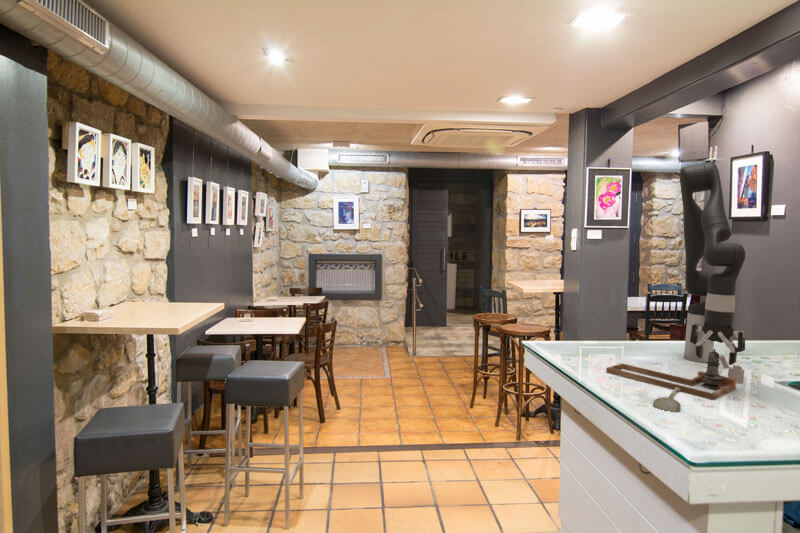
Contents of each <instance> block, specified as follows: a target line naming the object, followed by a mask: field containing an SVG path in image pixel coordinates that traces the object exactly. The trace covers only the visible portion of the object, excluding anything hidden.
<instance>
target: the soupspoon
mask: <svg viewBox="0 0 800 533" xmlns="http://www.w3.org/2000/svg"><path fill="white" fill-rule="evenodd" d="M680 392H681V389H680V388H678V387H675V388H674V390H672V391H671V393H670V395H669V396H668V397H666V396H664V397H663V396H662V397H658V398H655V399H654V400H653V402H652V406H653V407H654V409H656V408H657V409H656V410H659V409H660V410H659V411H662V410H664V411H663V412H667V411H670V412H669V413H678V412H679V411H680V410H681V407H682V406H681V403H680V402H679V401H678V400H676V399H674V398H673V396H674V395H675V393H680Z"/></svg>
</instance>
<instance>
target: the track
mask: <svg viewBox="0 0 800 533" xmlns="http://www.w3.org/2000/svg"><path fill="white" fill-rule="evenodd" d="M624 370H625V371H624ZM630 371H631V372H630ZM605 372H606V373H607V374H610V375H615V376H620V377H623V378H627V379H630V380H635V381H638V382H643V383H647V384H651V385H654V386H656V387H657V386H658V387H662V388H666V389H670V390H672V391H674V388H675V387H678V388H680V389H681V391H680V392H681V393H684V394H685V393H686V394H690V395H693V396H696V397H701V398H704V397H705V398H704V399H708V400H713V401H714V399H715V400H717V399H718V398H721V397H722V396H725V395H726V394H728V393H730V392H732V391H734V390H735V389H736V387H737V383H736V379H734V378H729V377H728V376H724V375H722V376H723V379H722V381H721V383H720V384H718V386H719V387H721V388H720V389H718V390H714V391H713V392H710V391H705V390H701V389H699V388H698V389H697V388H693V386H695V385H698V384H700V383H702V384H704V383H705V382H704V381H703V379H702V375H701V374H702V373H705V372H706V371H702V370H700V371H698V372H697V376H695V377H693V378H691V379H690V378H685V377H682V376H677V375H673V374H669V373H664V372H660V371H656V370H652V369H648V368H643V367H638V366H634V365H631V364H630V365H629V364H627V363H621V362H620V363H618V364H615V365H611V366H608V367H606V371H605ZM637 373H638V374H637ZM644 375H646V376H644ZM648 376H649V377H648ZM653 377H655V378H653ZM658 378H659V379H658ZM661 379H663V380H661ZM665 380H667V381H665ZM668 381H669V382H668ZM674 382H675V383H674ZM677 383H679V384H677ZM682 384H683V385H682ZM685 385H687V386H685ZM689 386H690V387H689ZM716 398H717V399H716Z"/></svg>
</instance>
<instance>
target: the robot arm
mask: <svg viewBox="0 0 800 533" xmlns="http://www.w3.org/2000/svg"><path fill="white" fill-rule="evenodd" d="M679 184H680V191H681V192H680V193H681V202H682V209H683V214H682V215H683V238H684V240H683V241H684V252H685V276H684V277H685V282H684V286H685V291H686V293H687V294H689V295H692V296H701V297H702V296H703V297H706V298H705V300H704V301H702V302H698V303H693V304H690V305H688V307H687V317H686V328H685V338H684V339H685V341H684V353H683V358H684V359H685V360H689V361H693V362H698V363H707V362H708V357H709V353H710V352H712V351H714V349H715V348H714V346H715V342H716V343H718V344H723V343H724V345H725V346H726V347H727V348H728V349H729V351H730V352H729V357H728V366H730V365H731V366H733V365H735V363H736V362H737V358H738V357H737V356H738V355H737V354H738V353H741V352H744V351H746V331H744V330H741V331H739V330H734V321H735V320H734V319H735V318H734V317H735V310H736V306H735V305H736V299H735V298H736V295H735V294H736V284H737V280H738V277H739V274H740V272H741V269H742V267H743V266H744V264H745V263H744V262H745V260H746V254H747V253H746V250H745V248H744V246H743V245H742V244H740V243H737V242H736V243H734V242H726V241H728V240H729V239H730V238H731V236H732V229H731V227H730V223H729V220H728V217H727V213H726V209H725V203H724V202H725V201H724V195H723V194H724V193H723V189H722V181H721V177H720V172H719V169H718V166H717V165H716V163H715V162H711V161H710V162H702V163H696V164H691V165H686V166H683V167H682V168H680V172H679ZM707 191H710V195H709V198H708V201H707V203H706V204H705V206H704V207H703V209H702V208H701V207H700V206H699V205H698V203H697V202H696V200H695V198H694V197H693V195H694V193H700V192H707ZM702 258H703V260H704V262H705V263H706V264H707V265H709V266H712V267H725V269H724V270H723V271H722V272H720V273H719V272H717V271H709V270H708V271H707V270H698V269H697V266H698V265H699V262H700V261H701V259H702ZM733 336H735V338H736V339H737V346H736V344H735V342H734V341H733V339H732V337H733Z"/></svg>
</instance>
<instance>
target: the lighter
mask: <svg viewBox="0 0 800 533" xmlns="http://www.w3.org/2000/svg"><path fill="white" fill-rule="evenodd" d="M719 362H720V363H721V365H722V368H723V369H724V370H726V369H727V370H728V371H727V372H728V373H727V374H728V375H727V377H729V378H734V379H736V384H737V383H738V384H741V385H742V384H744V378H745V377H744V375H745V369H744V368H743V367H742V366H741V365H735V364H733V365H732V367H731V366H730V365H729V363H728V362H727V360H726V358H725V355H724V354H721V355H719Z"/></svg>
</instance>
